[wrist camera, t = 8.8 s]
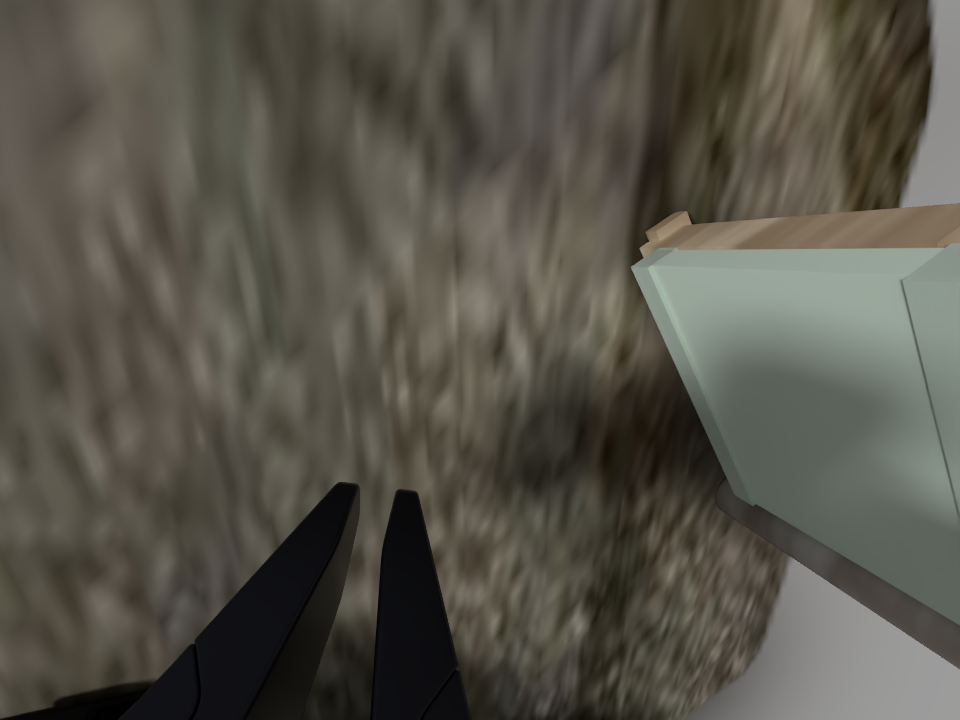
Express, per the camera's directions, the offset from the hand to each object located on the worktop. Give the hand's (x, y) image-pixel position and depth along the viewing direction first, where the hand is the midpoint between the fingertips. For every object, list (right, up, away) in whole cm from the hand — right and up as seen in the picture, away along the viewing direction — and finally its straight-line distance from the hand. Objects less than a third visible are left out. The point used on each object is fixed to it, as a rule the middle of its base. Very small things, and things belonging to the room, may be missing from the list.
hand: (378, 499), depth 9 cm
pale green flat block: (+13, +2, +14) cm, 19 cm away
